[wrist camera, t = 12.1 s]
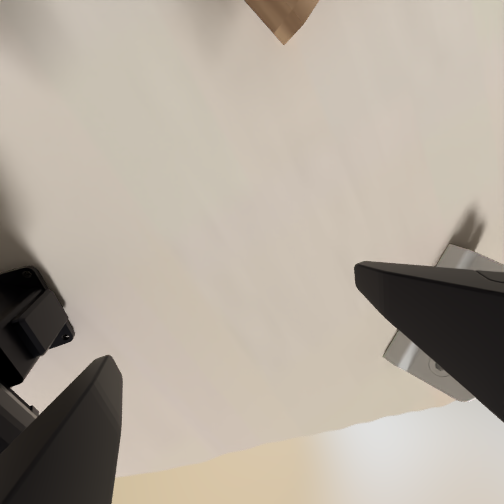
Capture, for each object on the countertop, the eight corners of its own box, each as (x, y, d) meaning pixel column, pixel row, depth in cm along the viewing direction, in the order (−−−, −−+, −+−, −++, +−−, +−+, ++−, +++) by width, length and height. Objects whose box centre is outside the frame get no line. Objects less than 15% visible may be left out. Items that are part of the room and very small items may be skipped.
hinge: (451, 240, 30) (579, 280, 22) (458, 248, 33) (572, 286, 26) (381, 359, 33) (475, 429, 25) (393, 356, 36) (481, 418, 28)
